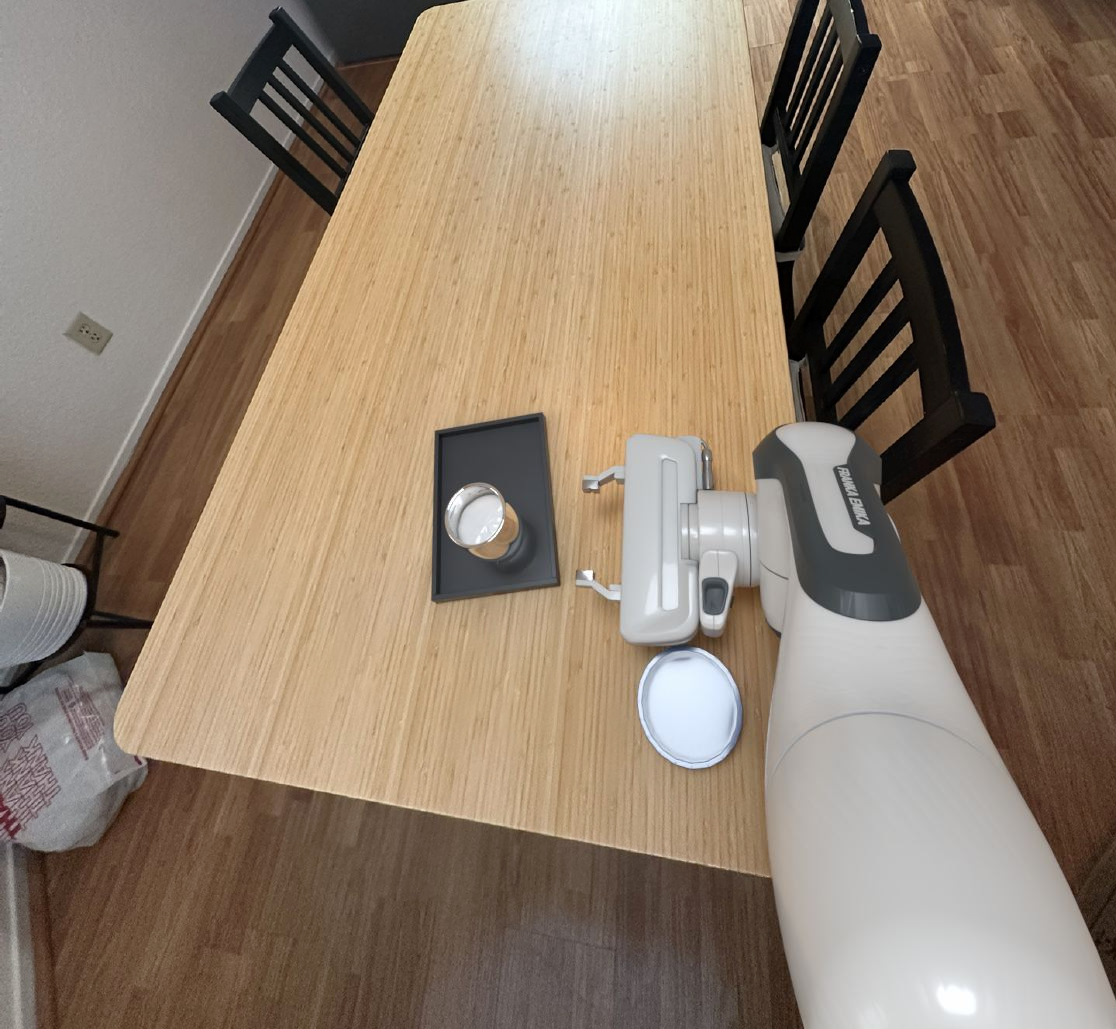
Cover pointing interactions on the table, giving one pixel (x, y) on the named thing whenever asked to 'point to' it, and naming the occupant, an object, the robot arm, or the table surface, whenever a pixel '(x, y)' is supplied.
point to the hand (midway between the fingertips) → (579, 529)
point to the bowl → (689, 707)
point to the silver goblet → (489, 527)
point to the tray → (517, 472)
